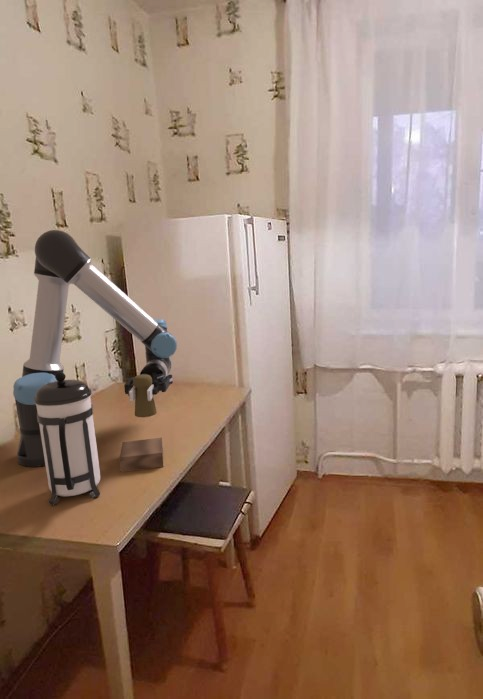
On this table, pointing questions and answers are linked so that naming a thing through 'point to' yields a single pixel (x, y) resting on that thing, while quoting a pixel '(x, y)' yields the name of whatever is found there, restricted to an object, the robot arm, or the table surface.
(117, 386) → the table surface
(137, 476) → the table surface
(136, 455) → the walnut base
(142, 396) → the olive pawn
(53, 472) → the coffee press
